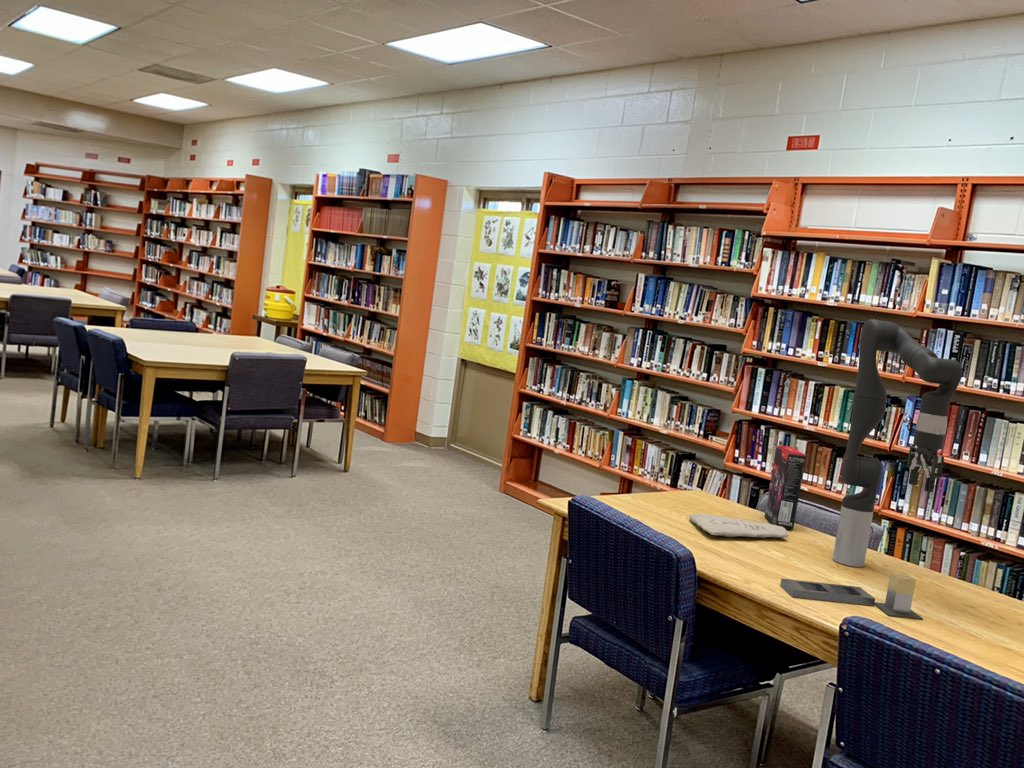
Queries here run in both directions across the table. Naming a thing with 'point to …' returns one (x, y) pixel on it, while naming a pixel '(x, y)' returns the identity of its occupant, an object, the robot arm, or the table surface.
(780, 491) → the graphics card box
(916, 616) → the mat
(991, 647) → the table surface
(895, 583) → the block
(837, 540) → the robot arm
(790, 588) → the grey slotted frame
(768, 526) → the stone
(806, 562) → the table surface
